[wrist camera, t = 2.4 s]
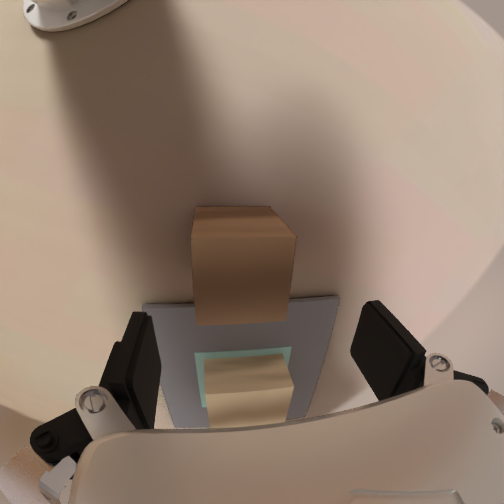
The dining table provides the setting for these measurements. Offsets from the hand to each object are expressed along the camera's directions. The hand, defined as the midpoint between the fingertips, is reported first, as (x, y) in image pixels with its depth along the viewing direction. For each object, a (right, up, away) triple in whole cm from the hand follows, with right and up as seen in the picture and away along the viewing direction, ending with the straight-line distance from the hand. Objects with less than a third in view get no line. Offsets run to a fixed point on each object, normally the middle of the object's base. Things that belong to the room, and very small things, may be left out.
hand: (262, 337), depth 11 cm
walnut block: (-2, +4, +8) cm, 9 cm away
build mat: (-1, -9, +14) cm, 16 cm away
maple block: (-1, -9, +13) cm, 16 cm away
